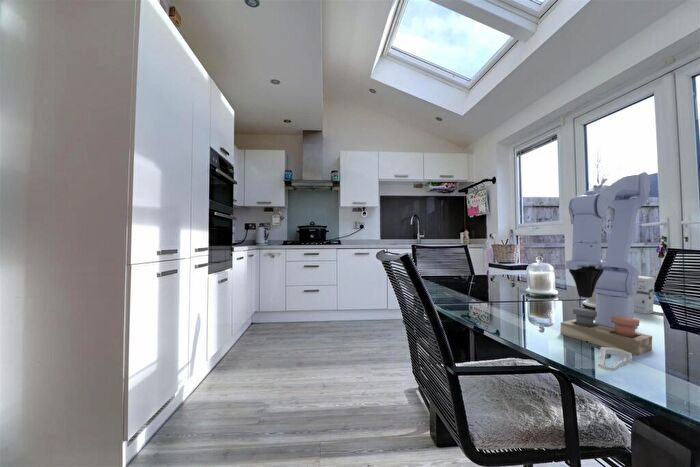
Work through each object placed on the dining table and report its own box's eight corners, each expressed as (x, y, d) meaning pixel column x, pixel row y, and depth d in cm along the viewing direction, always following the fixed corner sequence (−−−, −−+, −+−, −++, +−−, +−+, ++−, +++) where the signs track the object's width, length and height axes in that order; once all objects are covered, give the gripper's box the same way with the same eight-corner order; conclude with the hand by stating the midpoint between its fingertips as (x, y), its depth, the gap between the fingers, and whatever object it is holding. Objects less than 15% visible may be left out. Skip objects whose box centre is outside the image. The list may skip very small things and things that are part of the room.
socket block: (576, 329, 82) (577, 318, 82) (651, 349, 69) (652, 336, 69) (560, 334, 79) (560, 322, 79) (636, 355, 65) (636, 341, 65)
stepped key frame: (632, 381, 56) (632, 372, 56) (597, 372, 60) (597, 364, 60) (631, 356, 66) (631, 348, 66) (601, 350, 69) (601, 342, 69)
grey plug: (578, 321, 81) (579, 307, 81) (600, 326, 76) (600, 311, 76) (568, 323, 78) (569, 309, 78) (590, 329, 74) (591, 313, 74)
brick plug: (616, 330, 74) (616, 314, 74) (642, 336, 69) (643, 320, 69) (606, 333, 71) (607, 317, 71) (633, 339, 67) (633, 322, 67)
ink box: (614, 308, 107) (615, 274, 107) (622, 306, 110) (622, 273, 109) (647, 314, 100) (648, 278, 99) (654, 312, 102) (655, 277, 102)
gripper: (590, 243, 70) (588, 303, 70) (619, 243, 77) (618, 297, 77) (557, 242, 76) (556, 296, 77) (587, 242, 83) (586, 292, 83)
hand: (585, 296), depth 77 cm, fingers closed
